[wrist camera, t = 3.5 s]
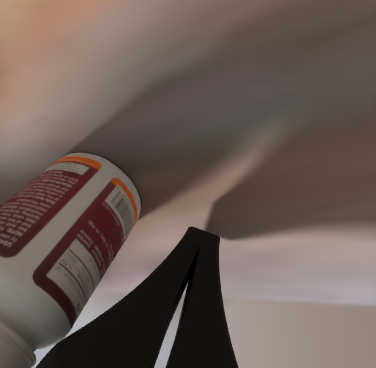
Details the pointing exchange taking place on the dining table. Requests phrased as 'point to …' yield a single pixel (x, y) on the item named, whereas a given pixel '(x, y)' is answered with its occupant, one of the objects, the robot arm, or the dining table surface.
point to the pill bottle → (58, 250)
